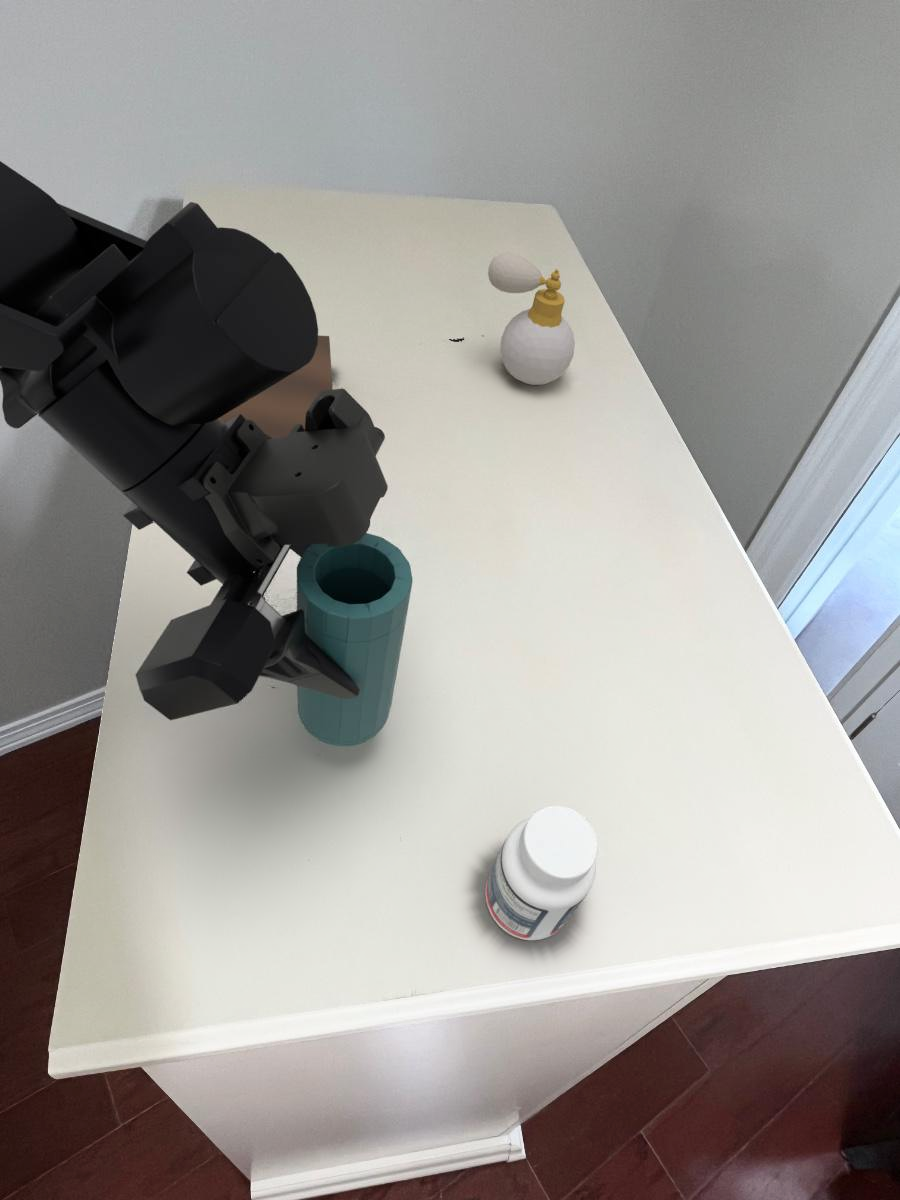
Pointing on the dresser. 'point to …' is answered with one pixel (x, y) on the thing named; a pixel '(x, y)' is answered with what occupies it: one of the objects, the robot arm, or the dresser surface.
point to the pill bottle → (542, 873)
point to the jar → (354, 632)
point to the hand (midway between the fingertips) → (371, 653)
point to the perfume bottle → (533, 322)
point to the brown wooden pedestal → (289, 396)
